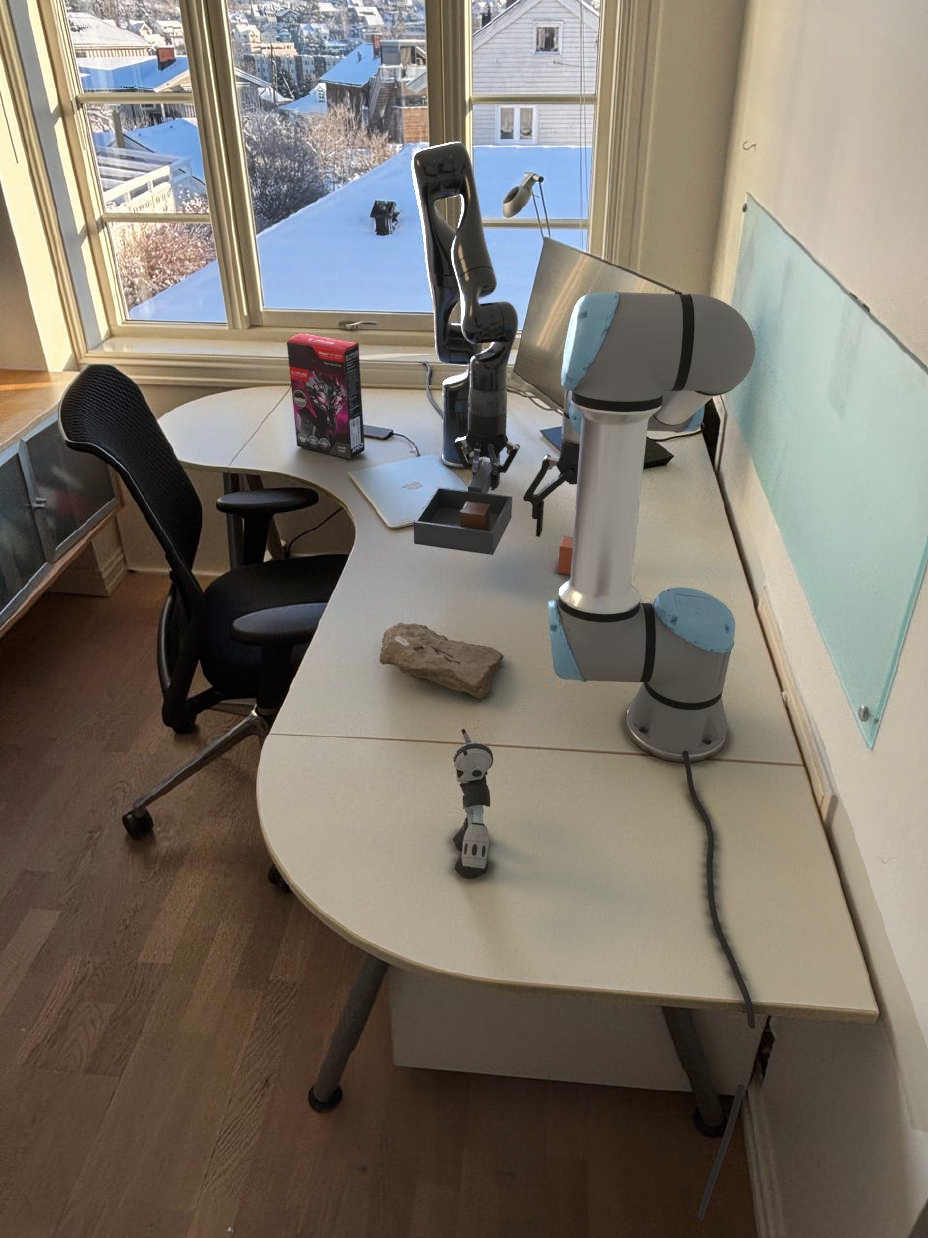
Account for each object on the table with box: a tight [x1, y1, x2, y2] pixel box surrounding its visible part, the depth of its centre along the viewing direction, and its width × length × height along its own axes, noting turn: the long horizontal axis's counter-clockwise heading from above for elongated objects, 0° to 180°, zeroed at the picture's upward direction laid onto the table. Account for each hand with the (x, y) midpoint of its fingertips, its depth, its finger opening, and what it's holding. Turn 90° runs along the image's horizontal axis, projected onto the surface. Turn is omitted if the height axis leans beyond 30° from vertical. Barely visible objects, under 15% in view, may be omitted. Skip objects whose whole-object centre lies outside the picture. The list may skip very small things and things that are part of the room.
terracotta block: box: [557, 535, 573, 575], centre depth 182 cm, size 4×4×6 cm
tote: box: [413, 461, 513, 556], centre depth 180 cm, size 27×15×6 cm, turn 165°
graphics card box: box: [286, 332, 366, 459], centre depth 224 cm, size 17×7×27 cm, turn 62°
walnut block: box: [460, 502, 490, 531], centre depth 171 cm, size 4×4×6 cm
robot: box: [452, 728, 494, 879], centre depth 116 cm, size 20×5×20 cm, turn 3°
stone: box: [379, 622, 505, 699], centre depth 153 cm, size 21×15×6 cm
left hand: (485, 487), depth 189 cm, fingers closed on tote, 2 cm apart
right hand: (573, 538), depth 180 cm, fingers open, 13 cm apart
